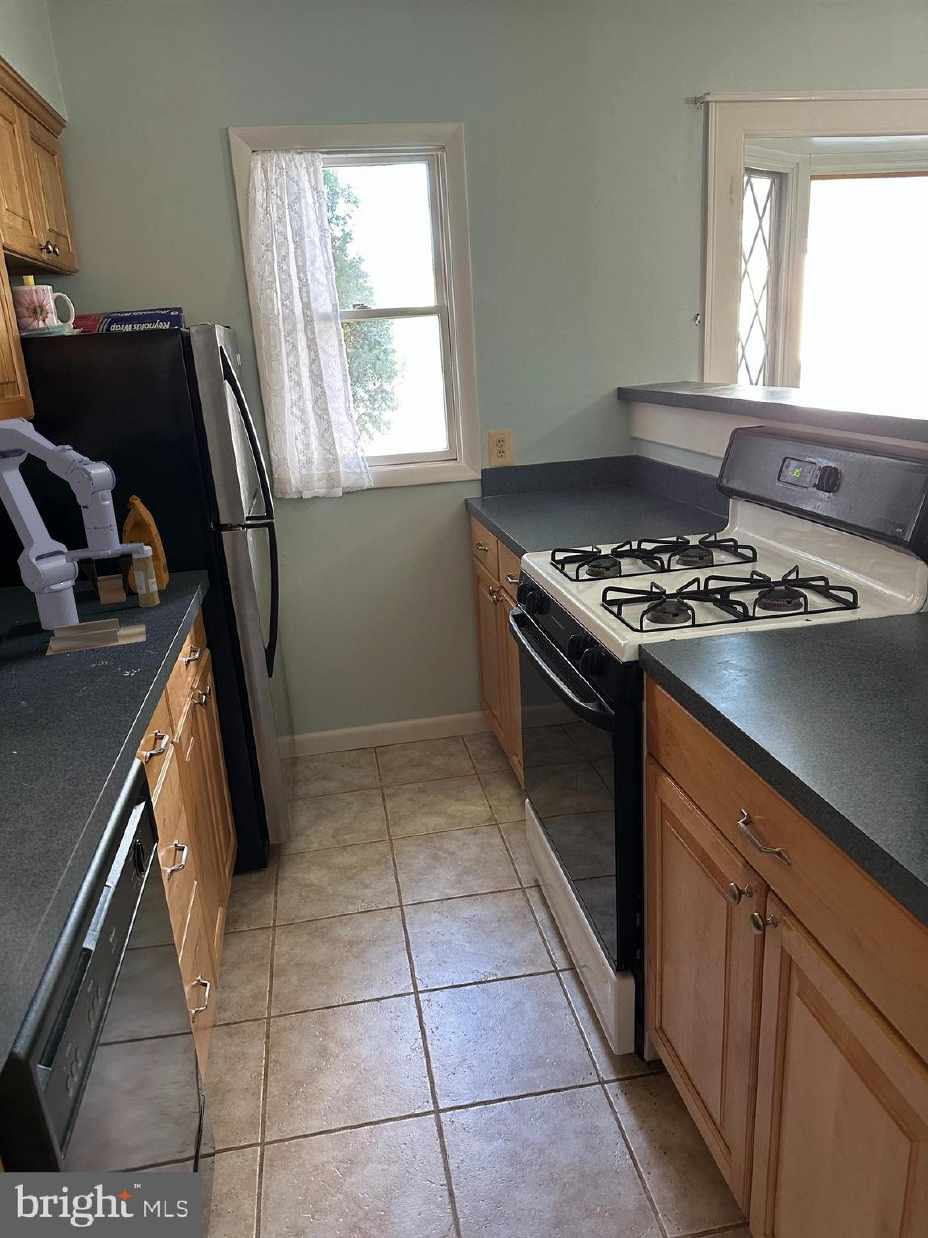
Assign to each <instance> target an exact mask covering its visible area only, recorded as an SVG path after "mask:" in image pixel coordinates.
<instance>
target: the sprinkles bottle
mask: <svg viewBox="0 0 928 1238" xmlns="http://www.w3.org/2000/svg"><path fill="white" fill-rule="evenodd" d="M144 551H145V554H141V555H139V554H135V555H133V567H134V575H135V580H136V586H137V592H138V593H137V595H138V600H139V603H138V605H139V607H141V608H149V607H156V606H159V605H160V604H161V601H160V598H159V592H158V591H159V590H158V591H157V584H156V578H155V572H154V567H153V561H152V549H151V547H150V546H144Z"/></svg>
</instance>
